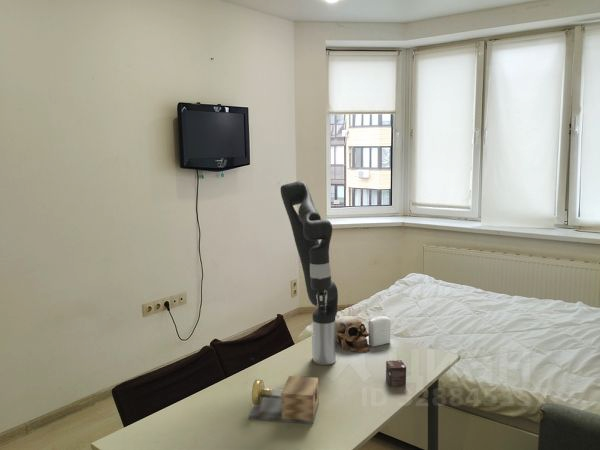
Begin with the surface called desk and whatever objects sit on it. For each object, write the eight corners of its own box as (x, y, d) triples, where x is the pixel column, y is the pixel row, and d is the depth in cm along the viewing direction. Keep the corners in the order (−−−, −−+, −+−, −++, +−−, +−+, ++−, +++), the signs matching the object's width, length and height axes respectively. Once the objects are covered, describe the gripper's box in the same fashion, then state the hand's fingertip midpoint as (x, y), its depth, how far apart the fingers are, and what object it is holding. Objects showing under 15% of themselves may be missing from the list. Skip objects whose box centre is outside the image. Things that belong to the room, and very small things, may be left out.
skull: (369, 352, 202) (365, 322, 201) (329, 353, 207) (325, 323, 206) (373, 340, 217) (370, 311, 216) (336, 341, 222) (333, 313, 221)
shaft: (252, 409, 155) (251, 386, 154) (258, 397, 163) (258, 375, 162) (301, 413, 152) (301, 389, 151) (306, 400, 160) (305, 378, 159)
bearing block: (248, 418, 154) (247, 390, 153) (258, 399, 166) (257, 373, 164) (313, 423, 150) (312, 395, 149) (318, 404, 162) (318, 377, 160)
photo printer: (372, 347, 208) (372, 320, 206) (366, 344, 212) (366, 317, 210) (391, 343, 213) (392, 316, 211) (386, 340, 216) (386, 313, 215)
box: (385, 379, 179) (385, 360, 178) (401, 378, 179) (401, 359, 178) (389, 387, 173) (390, 367, 172) (406, 386, 173) (406, 366, 172)
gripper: (311, 270, 181) (314, 311, 183) (309, 280, 167) (312, 324, 169) (331, 269, 181) (333, 311, 183) (330, 279, 166) (333, 324, 169)
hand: (323, 317), depth 176 cm, fingers open, 8 cm apart
